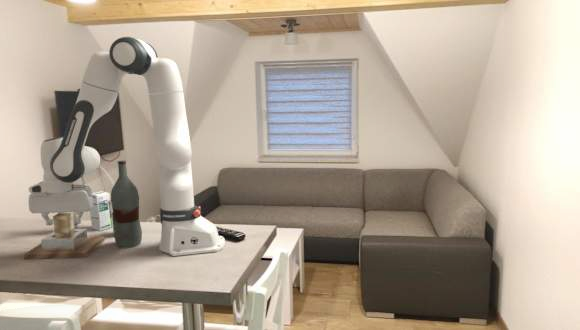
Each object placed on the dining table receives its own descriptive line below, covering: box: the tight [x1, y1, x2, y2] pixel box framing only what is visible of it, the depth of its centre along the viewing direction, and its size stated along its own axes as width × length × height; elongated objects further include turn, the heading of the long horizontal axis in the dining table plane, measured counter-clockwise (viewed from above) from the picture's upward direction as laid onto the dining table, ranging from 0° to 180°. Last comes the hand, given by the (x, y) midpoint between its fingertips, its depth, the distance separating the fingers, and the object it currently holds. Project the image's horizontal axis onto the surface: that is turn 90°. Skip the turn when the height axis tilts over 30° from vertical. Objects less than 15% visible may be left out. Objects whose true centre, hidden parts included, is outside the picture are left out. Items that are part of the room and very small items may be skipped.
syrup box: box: [89, 190, 113, 232], centre depth 169 cm, size 6×6×14 cm
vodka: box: [110, 160, 143, 249], centre depth 149 cm, size 9×9×30 cm
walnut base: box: [22, 235, 105, 260], centre depth 148 cm, size 20×16×2 cm
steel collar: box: [40, 228, 89, 251], centre depth 147 cm, size 10×10×4 cm
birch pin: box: [52, 212, 75, 237], centre depth 147 cm, size 4×4×11 cm
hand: (64, 224), depth 146 cm, fingers open, 8 cm apart
